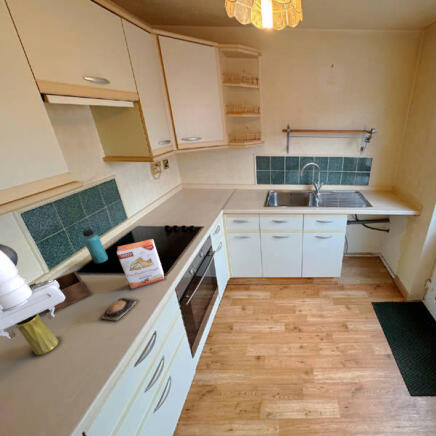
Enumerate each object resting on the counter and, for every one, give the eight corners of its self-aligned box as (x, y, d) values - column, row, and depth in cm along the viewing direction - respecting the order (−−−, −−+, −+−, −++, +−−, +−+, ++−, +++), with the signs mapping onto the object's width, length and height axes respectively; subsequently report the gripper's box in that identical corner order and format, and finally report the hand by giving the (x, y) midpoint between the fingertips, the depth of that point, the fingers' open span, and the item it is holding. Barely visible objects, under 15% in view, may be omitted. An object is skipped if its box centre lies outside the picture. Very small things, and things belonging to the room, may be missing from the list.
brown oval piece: (117, 322, 90) (114, 315, 88) (99, 318, 92) (96, 312, 90) (138, 301, 100) (136, 295, 98) (122, 299, 101) (119, 292, 99)
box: (53, 313, 94) (43, 298, 91) (46, 299, 101) (37, 285, 98) (90, 295, 103) (83, 281, 100) (82, 283, 110) (75, 270, 107)
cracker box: (131, 290, 106) (115, 252, 97) (131, 282, 111) (117, 246, 102) (164, 279, 112) (152, 243, 103) (164, 272, 117) (152, 237, 108)
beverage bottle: (111, 257, 129) (97, 226, 121) (106, 264, 124) (92, 232, 115) (97, 260, 127) (83, 228, 119) (92, 267, 122) (76, 234, 113)
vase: (50, 353, 78) (29, 325, 72) (29, 356, 78) (6, 327, 71) (63, 338, 84) (44, 310, 78) (44, 340, 83) (23, 312, 77)
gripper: (52, 273, 79) (70, 302, 85) (-44, 312, 65) (-15, 343, 71) (57, 280, 76) (75, 310, 82) (-45, 323, 61) (-14, 355, 67)
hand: (32, 326), depth 76 cm, fingers open, 8 cm apart
